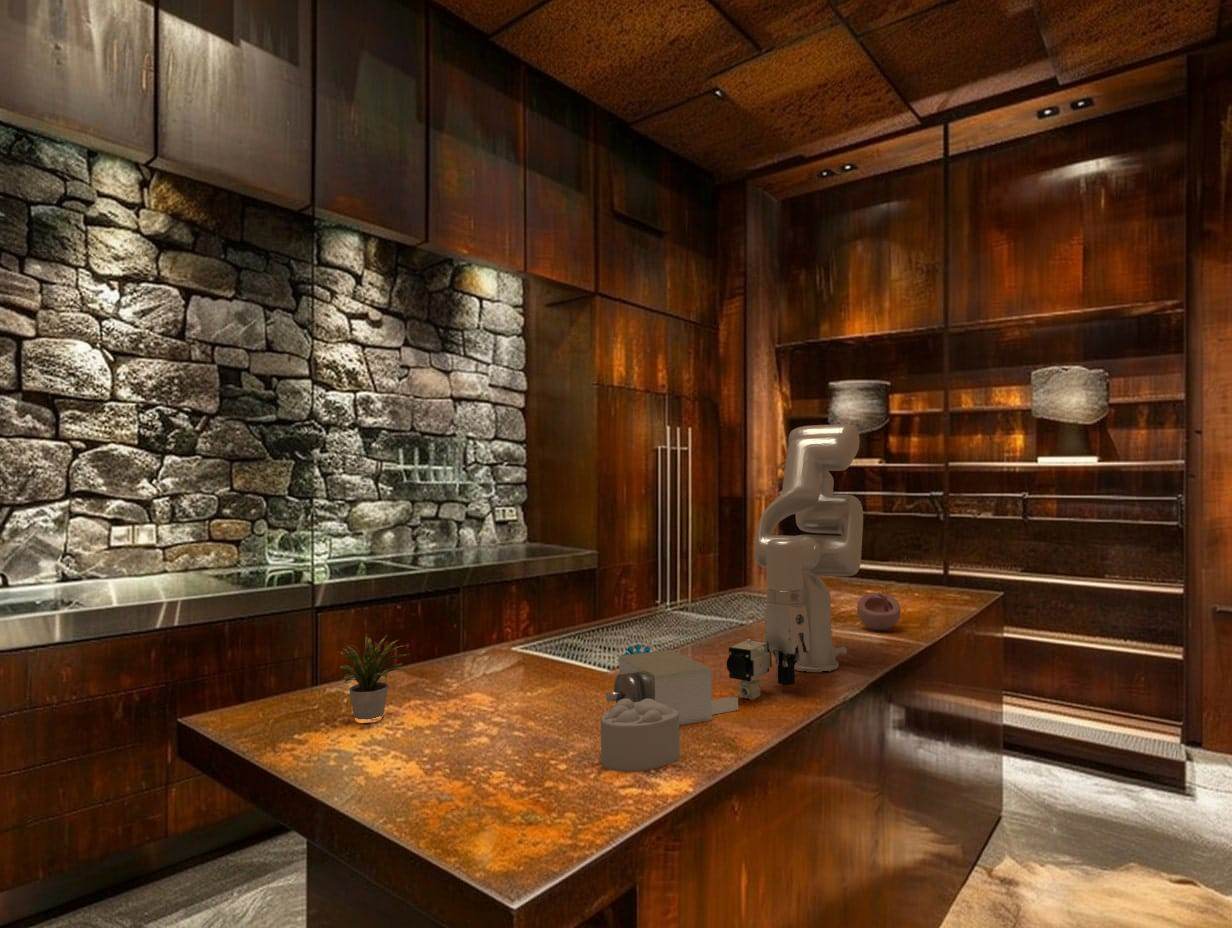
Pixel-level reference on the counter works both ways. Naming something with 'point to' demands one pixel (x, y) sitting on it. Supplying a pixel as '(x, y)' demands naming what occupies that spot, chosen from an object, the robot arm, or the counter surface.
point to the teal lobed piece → (637, 649)
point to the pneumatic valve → (749, 665)
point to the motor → (670, 685)
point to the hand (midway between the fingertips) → (786, 683)
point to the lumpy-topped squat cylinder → (639, 736)
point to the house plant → (369, 679)
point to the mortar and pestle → (878, 611)
